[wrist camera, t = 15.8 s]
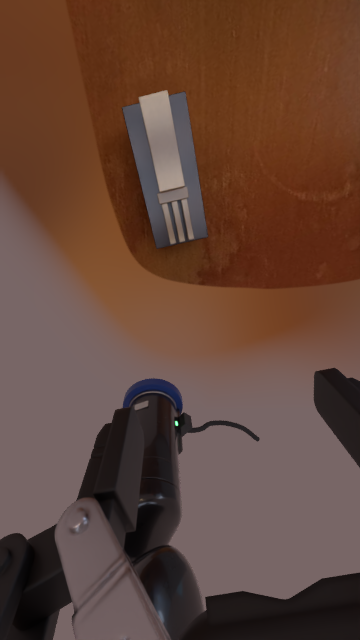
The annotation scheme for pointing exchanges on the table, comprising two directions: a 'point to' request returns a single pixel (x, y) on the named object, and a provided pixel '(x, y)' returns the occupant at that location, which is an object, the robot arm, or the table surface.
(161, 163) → the fork
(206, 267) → the table surface
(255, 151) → the table surface
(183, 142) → the stand
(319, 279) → the table surface
